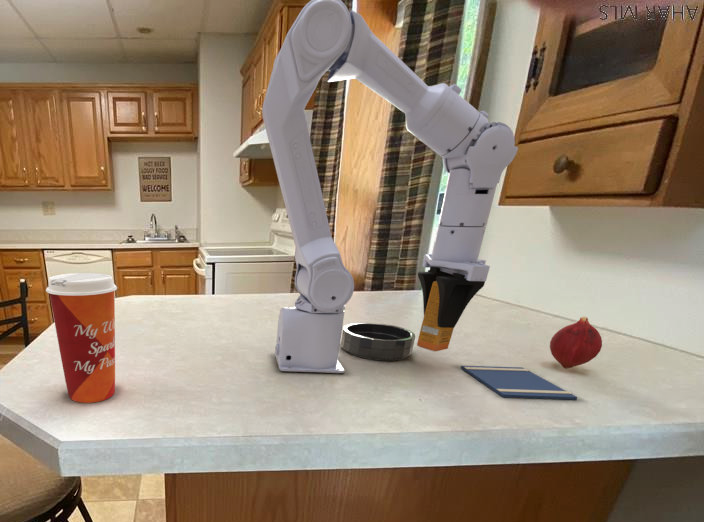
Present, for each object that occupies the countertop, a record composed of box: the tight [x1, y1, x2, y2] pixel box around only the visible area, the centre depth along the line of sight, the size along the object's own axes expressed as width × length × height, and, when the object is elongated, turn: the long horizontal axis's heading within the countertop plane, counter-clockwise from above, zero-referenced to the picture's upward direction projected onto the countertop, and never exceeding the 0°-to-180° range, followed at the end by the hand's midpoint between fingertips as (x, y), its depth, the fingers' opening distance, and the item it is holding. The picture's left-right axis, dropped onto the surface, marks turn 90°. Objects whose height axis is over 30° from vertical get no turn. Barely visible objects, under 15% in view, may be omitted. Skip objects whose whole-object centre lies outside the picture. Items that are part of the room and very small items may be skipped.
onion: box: [549, 316, 603, 369], centre depth 64 cm, size 6×6×8 cm
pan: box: [340, 322, 416, 362], centre depth 72 cm, size 11×11×4 cm
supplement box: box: [416, 281, 455, 352], centre depth 63 cm, size 3×3×10 cm
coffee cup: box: [45, 272, 118, 404], centre depth 53 cm, size 8×8×15 cm
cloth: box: [460, 365, 578, 401], centre depth 60 cm, size 9×11×1 cm
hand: (438, 323), depth 63 cm, fingers closed on supplement box, 4 cm apart
